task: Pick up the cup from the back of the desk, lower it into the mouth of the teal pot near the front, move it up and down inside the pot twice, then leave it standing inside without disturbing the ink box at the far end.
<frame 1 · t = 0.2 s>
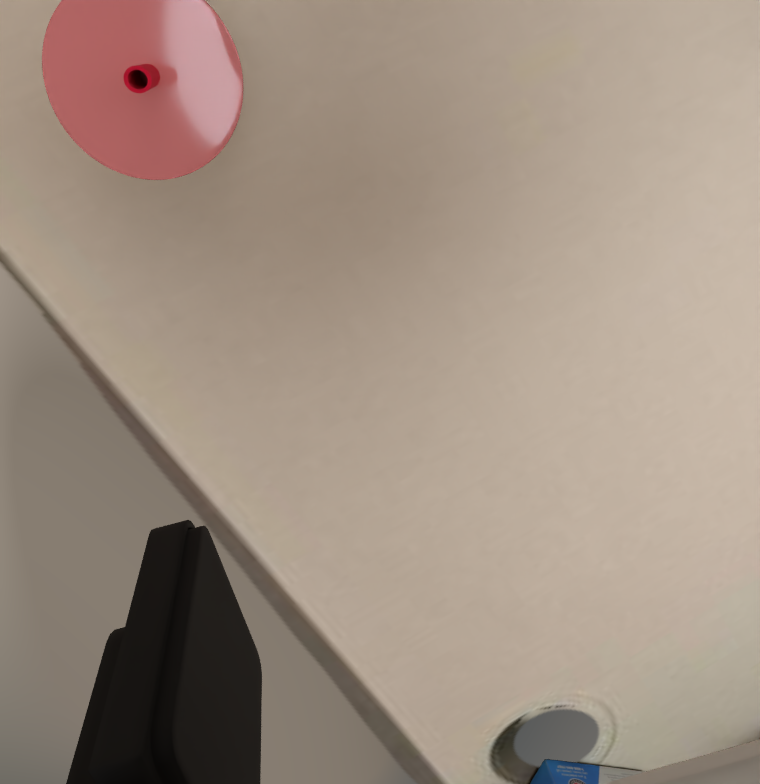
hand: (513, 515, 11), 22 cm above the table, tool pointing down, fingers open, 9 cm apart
ink box: (580, 783, 50), on the table
cup: (182, 75, 28), on the table
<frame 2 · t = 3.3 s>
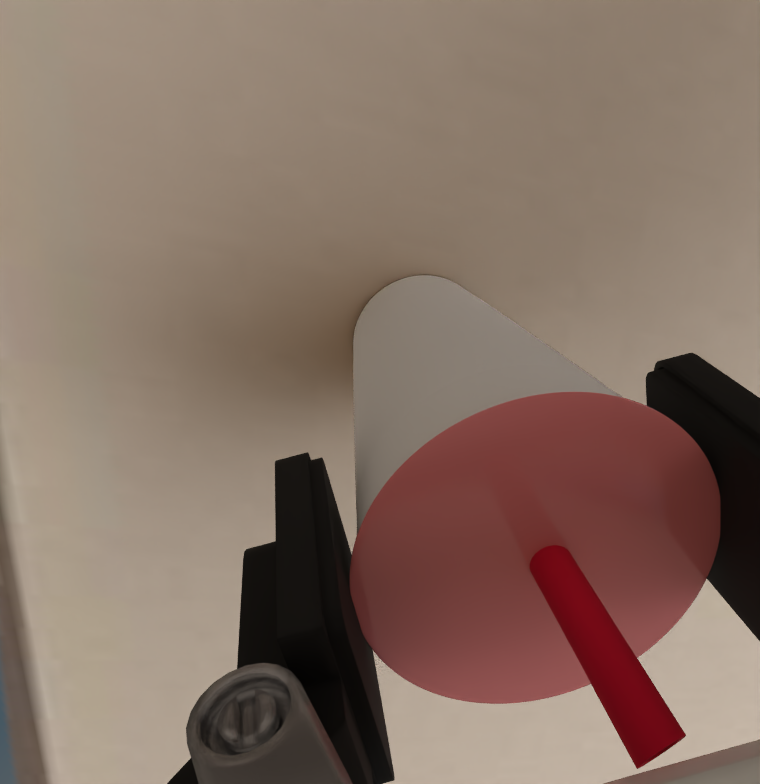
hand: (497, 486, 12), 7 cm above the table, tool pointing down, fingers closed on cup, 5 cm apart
cup: (418, 337, 18), on the table, touching gripper
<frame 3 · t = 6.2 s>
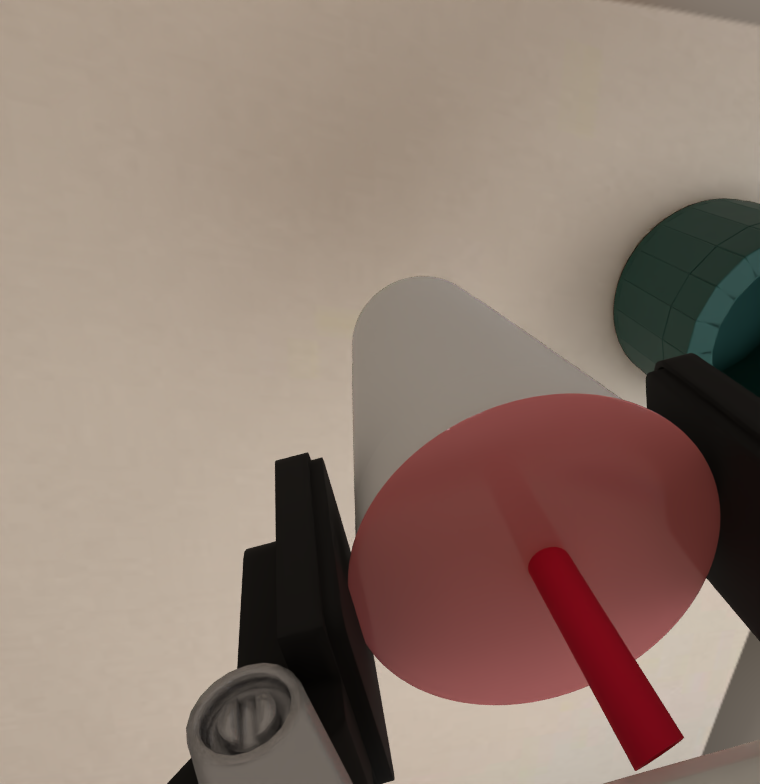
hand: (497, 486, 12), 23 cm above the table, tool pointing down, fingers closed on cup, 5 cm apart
teal pot: (702, 294, 37), on the table
cup: (417, 338, 18), point 16 cm above the table, touching gripper
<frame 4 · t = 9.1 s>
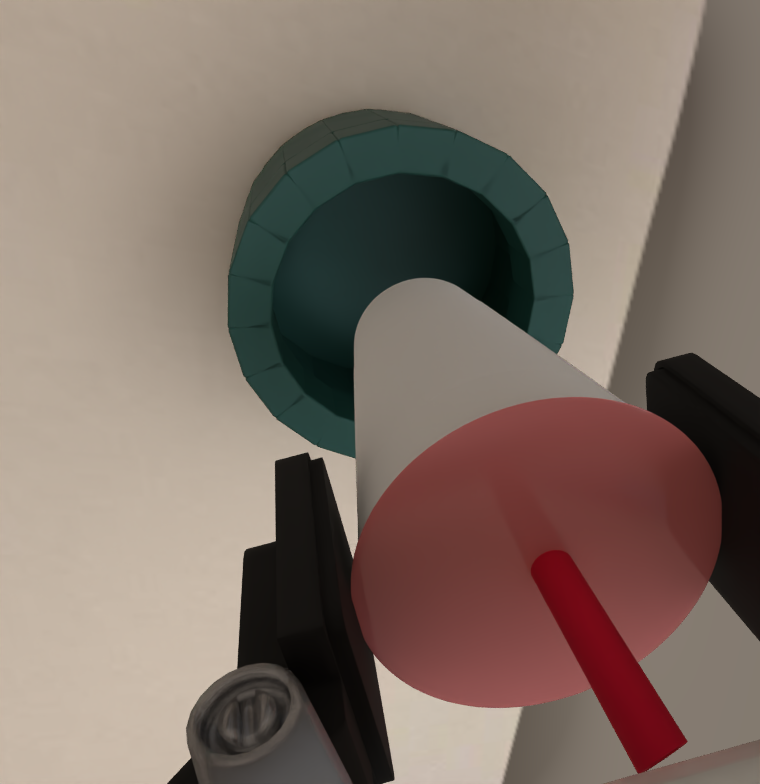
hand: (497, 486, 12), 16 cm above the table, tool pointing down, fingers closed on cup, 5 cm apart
teal pot: (373, 251, 26), on the table
cup: (418, 339, 18), point 9 cm above the table, touching gripper
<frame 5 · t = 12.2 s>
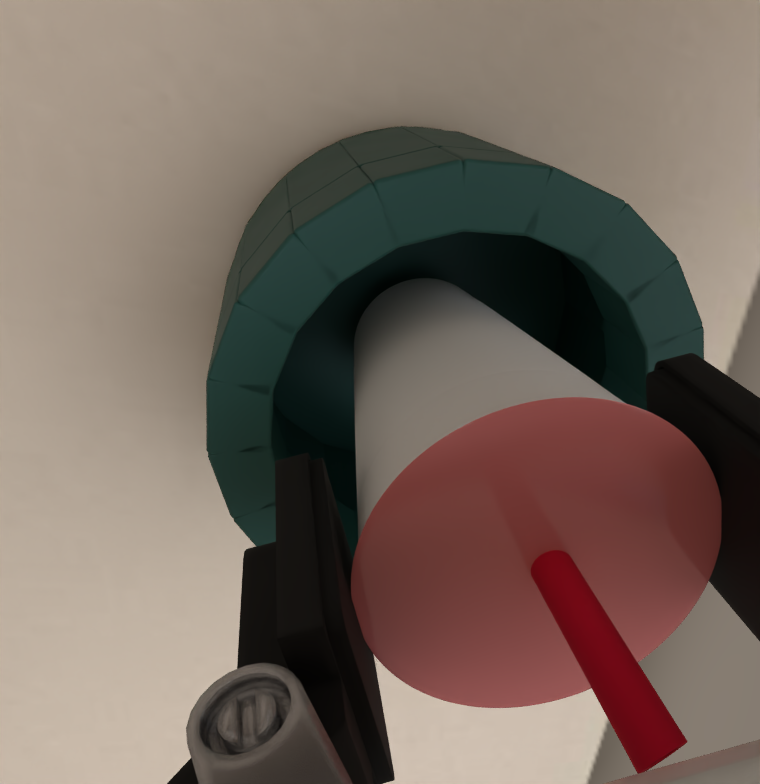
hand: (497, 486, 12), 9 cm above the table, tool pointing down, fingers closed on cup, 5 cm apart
teal pot: (404, 310, 20), on the table
cup: (418, 340, 18), point 2 cm above the table, touching gripper
when the fingers open (7 cm above the table, at t = 14.9 s): cup stays where it is, resting on teal pot.
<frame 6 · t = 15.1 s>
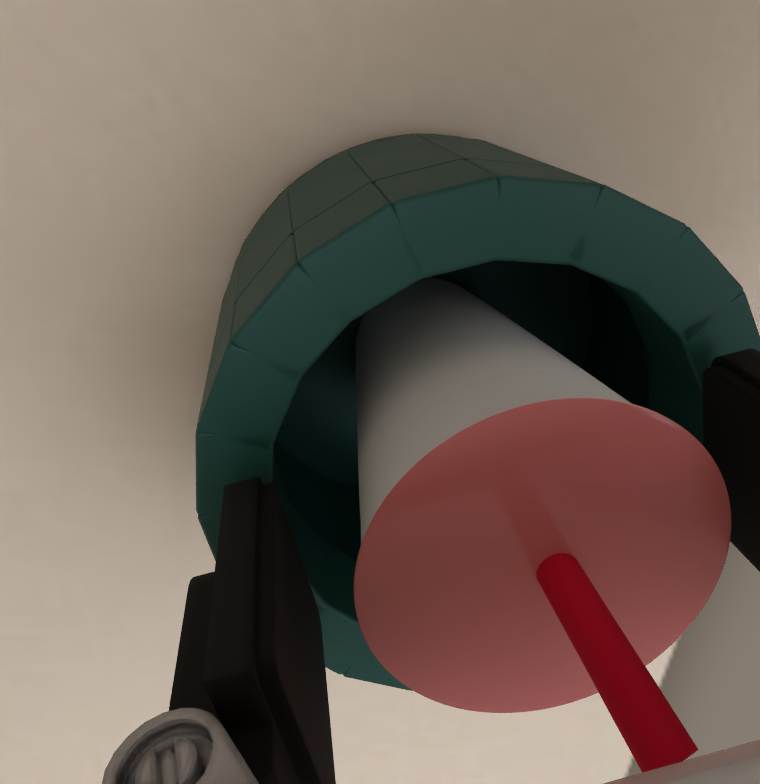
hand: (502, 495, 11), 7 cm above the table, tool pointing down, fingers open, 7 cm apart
teal pot: (417, 334, 18), on the table
cup: (420, 340, 18), resting on teal pot
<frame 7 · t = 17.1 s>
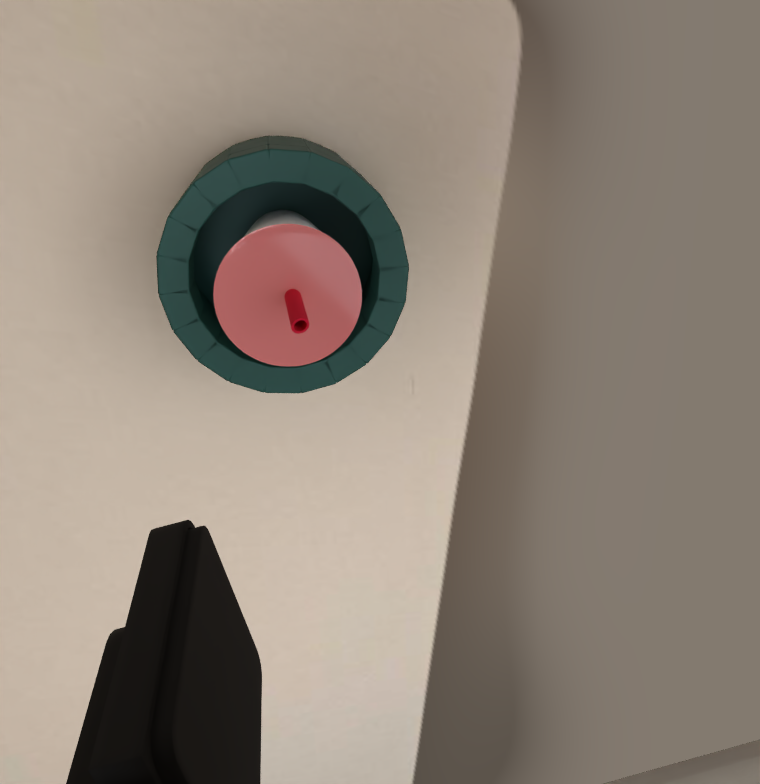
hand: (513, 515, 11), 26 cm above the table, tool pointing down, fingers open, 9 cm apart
teal pot: (282, 242, 34), on the table
cup: (283, 244, 34), resting on teal pot
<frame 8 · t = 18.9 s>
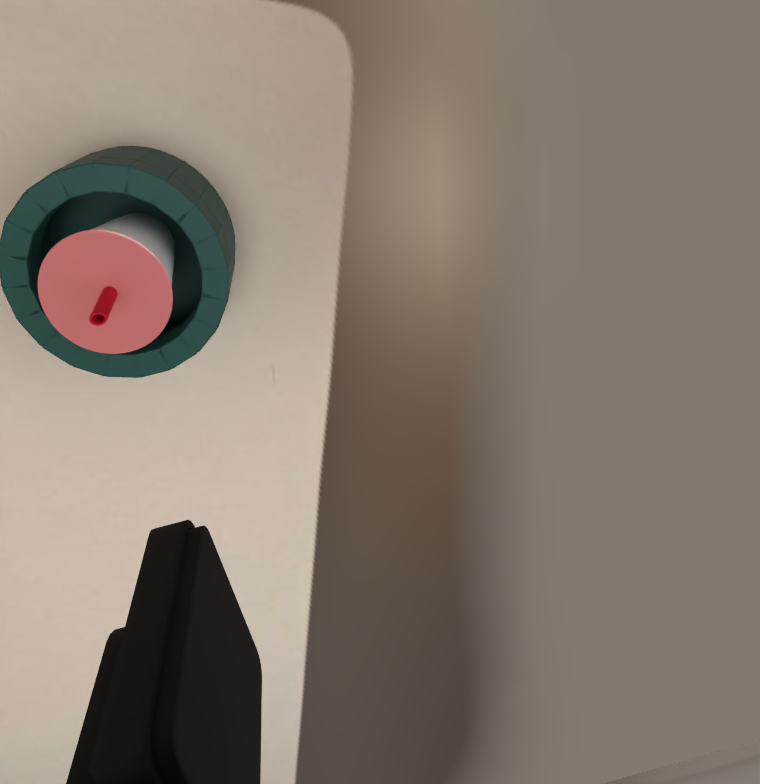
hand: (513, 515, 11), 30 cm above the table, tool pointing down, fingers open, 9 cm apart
teal pot: (142, 242, 38), on the table
cup: (142, 243, 37), resting on teal pot
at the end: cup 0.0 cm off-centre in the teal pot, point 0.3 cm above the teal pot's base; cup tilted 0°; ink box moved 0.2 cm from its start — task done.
